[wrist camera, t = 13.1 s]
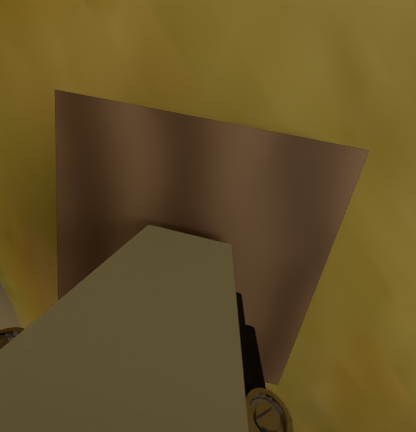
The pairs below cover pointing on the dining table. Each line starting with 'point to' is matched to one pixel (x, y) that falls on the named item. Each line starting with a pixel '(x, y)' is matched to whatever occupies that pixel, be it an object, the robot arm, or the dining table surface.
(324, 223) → the walnut block
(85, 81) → the dining table surface
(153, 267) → the sage block
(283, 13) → the dining table surface
